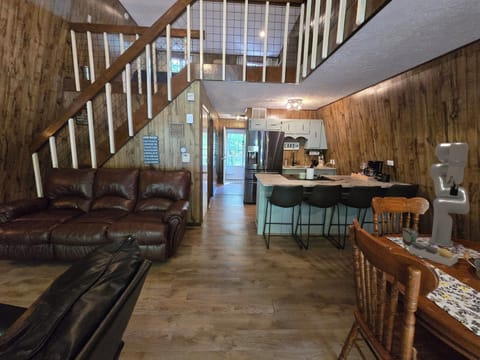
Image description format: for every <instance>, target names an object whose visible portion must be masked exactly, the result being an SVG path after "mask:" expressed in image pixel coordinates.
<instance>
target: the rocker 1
mask: <svg viewBox="0 0 480 360" xmlns="http://www.w3.org/2000/svg"><path fill="white" fill-rule="evenodd" d="M411 245H412V246H414V247H415V248H417V249H418V248H419V249H423V247H424V246H425V245H424V244H422V243H419V242H417V241H416V242H415V241H414V242H412V243H411Z"/></svg>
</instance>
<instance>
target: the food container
mask: <svg viewBox="0 0 480 360" xmlns="http://www.w3.org/2000/svg"><path fill="white" fill-rule="evenodd" d="M418 237H419V232H418V231H417V230H415V229H412V228H407V227H402V243H403V244H404V243H405V244H404V245H405V246H407V247H408V246H412V245H411V243H412V242H414V241H415V242H417V238H418Z"/></svg>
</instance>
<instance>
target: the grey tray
mask: <svg viewBox="0 0 480 360" xmlns="http://www.w3.org/2000/svg"><path fill="white" fill-rule="evenodd" d="M436 249H437V248H436ZM437 250H439V249H437ZM408 252H409V254H412V255H414V254H415V255H414V256H417V255H419V256H418V257H420V256H421V257H420V258H423V257H424V258H423V259H426V258H427V260H429V261H432V262H435V263H438V264H441V265H444V266H447V267H452V266H453V265H455V264H456V263H458V259H459V255H458V254H455V253H451V252H450V253H451V254H452V255H453V256H452V257H451V258H449V259H448V258H446V257H443V256H442V255H440V253H438V252H437V253H435V254H434V253H432V252H431V253H430V252H428V251H427V250H425V249H419V248H418V249H417V248H415V247H414V246H409V247H408Z"/></svg>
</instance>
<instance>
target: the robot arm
mask: <svg viewBox="0 0 480 360" xmlns="http://www.w3.org/2000/svg"><path fill="white" fill-rule="evenodd" d="M469 149H470V147H469V144H468V143H467V142H441V143H438V144H436V146H435V148H434V155H435V157H436V158H437V159H438V161H439V162H440V163H433V164H432V165H430V167H429V175H430V178H431V180H432V181H433V183H434V193H435V197H436V198H435V199H434V200H433V202H432V206H433V220H432V221H433V223H432V231H431V232H432V234H431V238H428V242H429V243H430V244H432V245H434V246H435V245H436V246H439V247H445V248H450V247H451V248H452V247H453V246H454V243H453V242H451V240H452V239H451V238H452V231H453V229H452V228H453V218H452V216H450V215H449V214H458V215H466V214H468V213H469V211H470V201H469V196H468V191H467V190H466V188H465V187H462V186H460V185H461V184H463V181H464V170H465V168H467V160H468V152H469Z"/></svg>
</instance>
